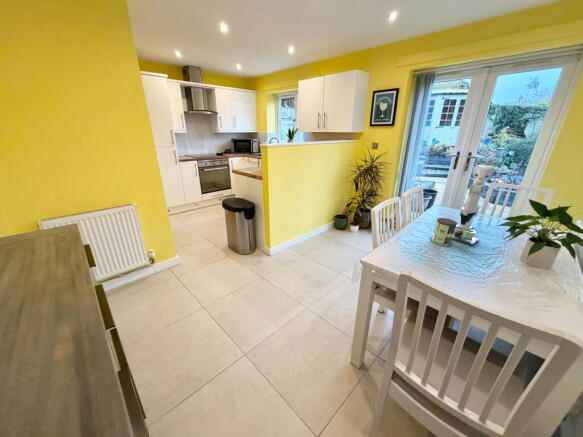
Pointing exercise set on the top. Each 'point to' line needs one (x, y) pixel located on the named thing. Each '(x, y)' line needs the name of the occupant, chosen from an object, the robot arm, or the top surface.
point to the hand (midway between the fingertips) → (464, 223)
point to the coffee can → (444, 231)
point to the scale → (458, 238)
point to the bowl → (469, 233)
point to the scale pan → (467, 239)
